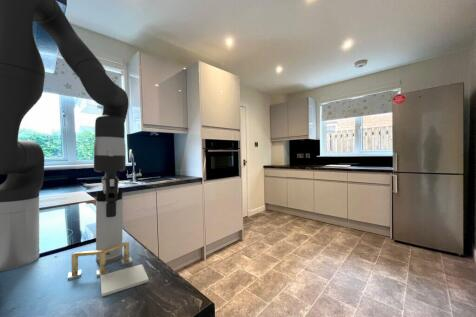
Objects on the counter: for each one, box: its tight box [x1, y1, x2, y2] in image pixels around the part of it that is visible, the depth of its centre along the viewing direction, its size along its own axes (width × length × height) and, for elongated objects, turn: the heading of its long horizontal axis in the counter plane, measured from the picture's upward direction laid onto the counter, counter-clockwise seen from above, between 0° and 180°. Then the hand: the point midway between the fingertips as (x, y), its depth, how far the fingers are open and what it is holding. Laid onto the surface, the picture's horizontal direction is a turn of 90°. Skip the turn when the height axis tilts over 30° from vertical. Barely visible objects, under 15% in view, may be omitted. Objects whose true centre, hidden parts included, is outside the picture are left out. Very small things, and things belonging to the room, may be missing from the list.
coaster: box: [99, 263, 150, 298], centre depth 48 cm, size 9×8×1 cm
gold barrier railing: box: [67, 241, 133, 281], centre depth 51 cm, size 13×5×6 cm, turn 125°
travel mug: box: [95, 187, 124, 265], centre depth 58 cm, size 6×7×20 cm
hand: (110, 213), depth 58 cm, fingers closed on travel mug, 6 cm apart
